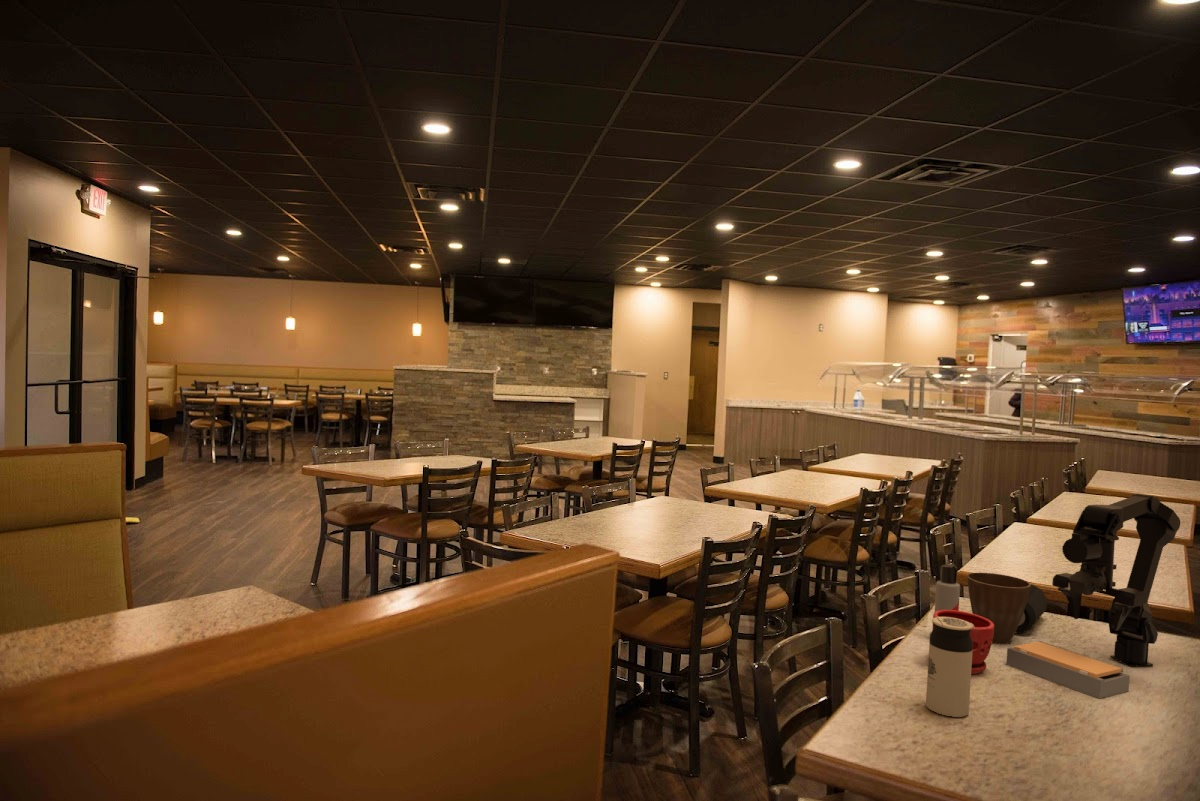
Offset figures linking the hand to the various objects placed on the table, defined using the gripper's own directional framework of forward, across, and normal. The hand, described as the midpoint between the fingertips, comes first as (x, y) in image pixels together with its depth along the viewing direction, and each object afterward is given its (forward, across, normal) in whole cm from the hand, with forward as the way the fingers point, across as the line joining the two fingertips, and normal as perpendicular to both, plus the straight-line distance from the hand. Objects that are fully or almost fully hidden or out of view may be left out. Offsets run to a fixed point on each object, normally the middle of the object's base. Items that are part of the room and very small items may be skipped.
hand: (1095, 624), depth 185 cm
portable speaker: (+12, -31, +19) cm, 38 cm away
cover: (+7, 0, -11) cm, 13 cm away
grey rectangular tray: (+11, 0, -11) cm, 16 cm away
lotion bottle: (+11, -29, -16) cm, 35 cm away
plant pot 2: (+11, -24, -2) cm, 27 cm away
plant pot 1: (+11, -14, -30) cm, 35 cm away
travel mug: (+10, +2, -55) cm, 56 cm away
